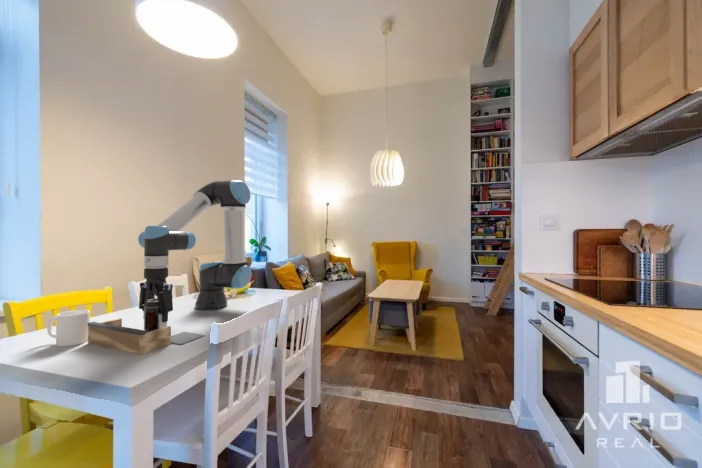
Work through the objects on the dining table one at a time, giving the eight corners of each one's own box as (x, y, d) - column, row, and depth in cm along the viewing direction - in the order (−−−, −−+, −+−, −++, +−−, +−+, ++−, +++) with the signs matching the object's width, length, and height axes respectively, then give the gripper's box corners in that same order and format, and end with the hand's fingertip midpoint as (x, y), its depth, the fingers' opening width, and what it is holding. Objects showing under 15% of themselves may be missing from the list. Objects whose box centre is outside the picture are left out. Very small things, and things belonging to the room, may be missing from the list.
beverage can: (167, 332, 110) (168, 300, 110) (145, 336, 106) (145, 302, 106) (164, 328, 115) (165, 297, 115) (143, 331, 111) (143, 299, 111)
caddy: (119, 334, 111) (119, 315, 111) (170, 343, 102) (171, 323, 102) (87, 343, 101) (87, 323, 101) (141, 354, 93) (141, 332, 93)
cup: (76, 346, 98) (77, 315, 98) (35, 347, 97) (36, 316, 97) (95, 338, 107) (95, 309, 107) (57, 338, 105) (58, 309, 105)
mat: (184, 332, 114) (184, 331, 114) (204, 335, 111) (204, 334, 111) (159, 341, 105) (159, 340, 105) (181, 345, 102) (181, 343, 102)
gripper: (127, 266, 110) (126, 329, 110) (166, 269, 104) (165, 336, 104) (146, 265, 117) (146, 323, 117) (185, 267, 111) (184, 329, 111)
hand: (155, 329), depth 111 cm, fingers closed on beverage can, 7 cm apart
